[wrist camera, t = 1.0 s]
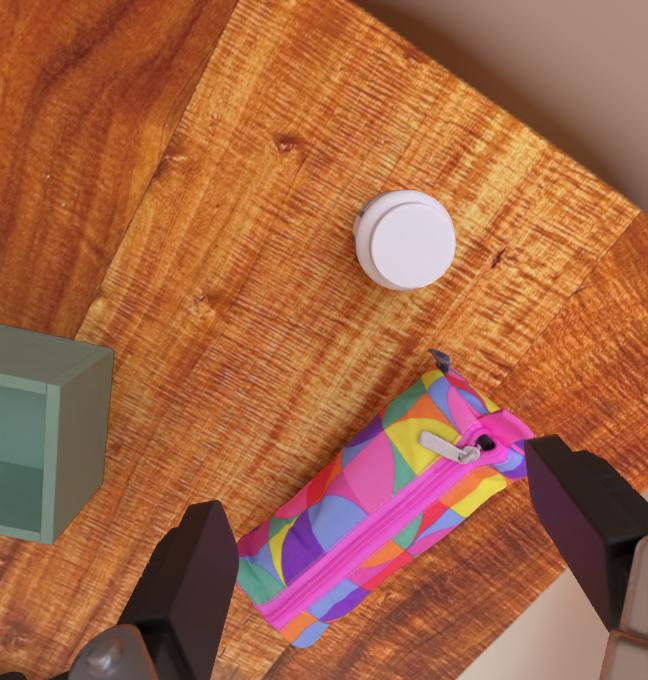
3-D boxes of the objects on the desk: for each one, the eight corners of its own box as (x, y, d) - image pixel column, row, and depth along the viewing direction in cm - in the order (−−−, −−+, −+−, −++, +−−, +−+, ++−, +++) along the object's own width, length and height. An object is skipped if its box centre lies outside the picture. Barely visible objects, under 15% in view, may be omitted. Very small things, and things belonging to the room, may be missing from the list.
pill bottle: (418, 282, 31) (447, 315, 23) (342, 262, 31) (344, 288, 22) (444, 202, 29) (486, 206, 21) (365, 180, 29) (375, 175, 21)
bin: (-45, 453, 36) (-128, 509, 30) (-48, 313, 33) (-143, 342, 26) (102, 483, 37) (52, 546, 30) (114, 348, 33) (60, 386, 27)
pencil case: (431, 322, 32) (465, 370, 23) (523, 407, 34) (586, 480, 25) (235, 515, 37) (204, 612, 29) (323, 580, 39) (318, 689, 30)
